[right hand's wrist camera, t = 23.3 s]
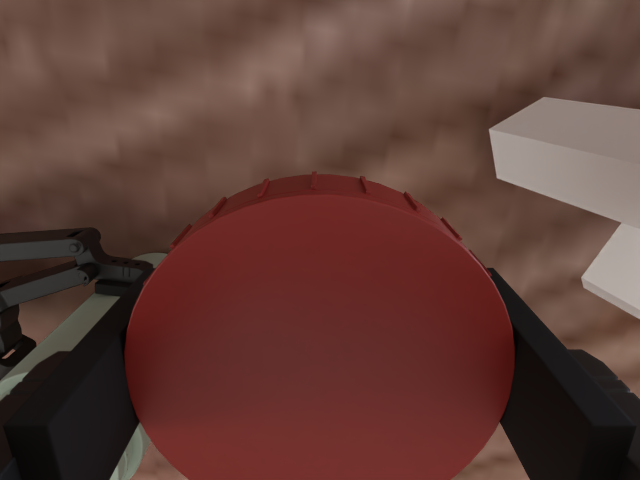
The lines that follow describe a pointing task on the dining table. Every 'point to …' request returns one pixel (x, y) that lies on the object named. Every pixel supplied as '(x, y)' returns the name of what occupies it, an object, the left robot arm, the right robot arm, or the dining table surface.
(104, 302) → the jar
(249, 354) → the lid
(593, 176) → the pile of blocks
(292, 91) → the dining table surface
